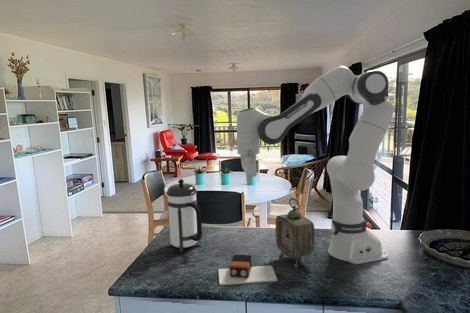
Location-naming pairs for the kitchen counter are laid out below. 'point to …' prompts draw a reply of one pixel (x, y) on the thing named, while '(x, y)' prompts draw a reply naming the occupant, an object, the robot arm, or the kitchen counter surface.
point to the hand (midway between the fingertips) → (249, 183)
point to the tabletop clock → (294, 234)
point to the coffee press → (183, 216)
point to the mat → (255, 276)
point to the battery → (240, 266)
